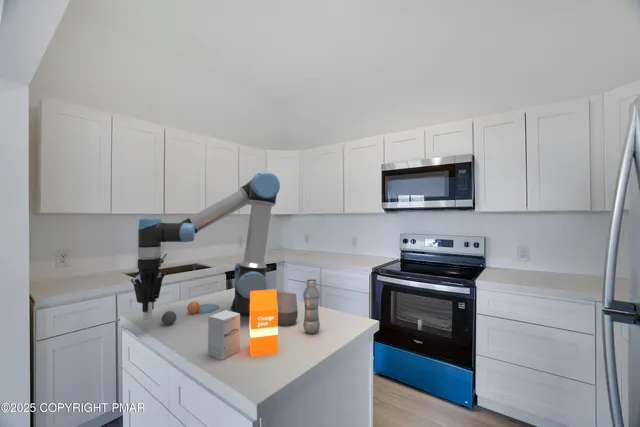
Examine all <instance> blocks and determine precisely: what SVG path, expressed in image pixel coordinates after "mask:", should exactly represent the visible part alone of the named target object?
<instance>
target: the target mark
mask: <svg viewBox="0 0 640 427" xmlns="http://www.w3.org/2000/svg"><path fill="white" fill-rule="evenodd" d="M217 310H220V305H218V304H216V303H203V304H200V309H199V311H198V312H197V313H195V315H196V314H197V315H199V314H208V313H212V312H215V311H217Z"/></svg>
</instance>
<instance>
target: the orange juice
mask: <svg viewBox="0 0 640 427" xmlns="http://www.w3.org/2000/svg"><path fill="white" fill-rule="evenodd" d="M278 325H279V324H278V307H277V289H276V288H274V289H265V290H258V291H251V292H250V316H249V352H250V357H257V356H263V355H271V354H278V353H279V343H278V342H279V326H278Z"/></svg>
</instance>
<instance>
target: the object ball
mask: <svg viewBox="0 0 640 427" xmlns="http://www.w3.org/2000/svg"><path fill="white" fill-rule="evenodd" d="M200 305H201V304H200V303H199V302H198V301H193V300H192V301H191V302H190V303H189V302H188V304H187V307H186V311H187V312H188V314H191V315H194V314H195V313H197V312H198V311H199V309H200ZM195 315H196V314H195Z"/></svg>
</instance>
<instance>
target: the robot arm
mask: <svg viewBox="0 0 640 427" xmlns="http://www.w3.org/2000/svg"><path fill="white" fill-rule="evenodd" d="M280 188H281V184H280V179H279V178H278V177H277V175H276V174H274V173H273V172H271V171H267V170H265V171H259V172H257V173H255V174H254V176H253V177H252V178H251V180H249V181H248V182H247V183H245V184H244V185H243V186H240V187H239V190H238V191H236V192H234V193H232V194H230V195H228V196H227V197H224V198H223V199H221V200H220V201H218V202H215V203H214V204H212V205H210V206H208V207H206V208H204V209H203V210H201V211H199V212H197V213H195V214H193V215H191V216H190V217H188V218H186V219H184V220H182V221H179V222H171V223H170V222H169V223H168V222H163V221H162V218H160V217H141V218H140V219H139V220H138V229H137V231H138V232H137V235H138V236H137V237H138V239H137V241H138V242H137V243H138V244H137V258H138V259H137V269H138V273H137V276H135V278H131V280H130V281H131V283H132V285H133V287H134V288H133V289H134V293H135V298H136V302H137V303H139V304H141V305H142V307H141V309H142V310H141V312H142V313H143V321H148V322H149V321H151V320H153V310H154V308H155V303H156V302H157V300H158V299H159V298H160V292H161V288H162V285H163V279H164V277H165V275H166V274H165V273H164V272H163V273H162V272H161V271H160V267H161V258H160V257H161V256H162V255H161V254H162V248H161V247H162V246H161V244H162V243H189V242H194V241H195V238H196V237H195V236H196V234H198V233H199V232H200V231H202V230H204V229H206V228H208V227H209V226H211V225H213V224H215V223H216V222H219V221H220V220H223V219H224V218H226V217H228V216H229V215H231V214H234V213H235V212H236V211H238V210H240V209H242V208H244V207H246V206H251V207H250V214H249V221H248V228H247V233H246V234H247V236H246V243H245V248H244V249H245V250H244V255H243V260H242V261H241V262H239V263H235V265H234V297H233V300H232V303H231V306H230V311H232V312H236V313H239V314H240V317H250V292H251V291H258V290H267V289H266V288H267V279H266V276H267V268H268V266H267V264H266V263H265V256H266V251H267V250H266V249H267V243H268V234H269V229H270V228H269V227H270V220H271V212H272V208H273V207H275V205H276V203H277V195H278V193H279V192H280Z"/></svg>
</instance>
